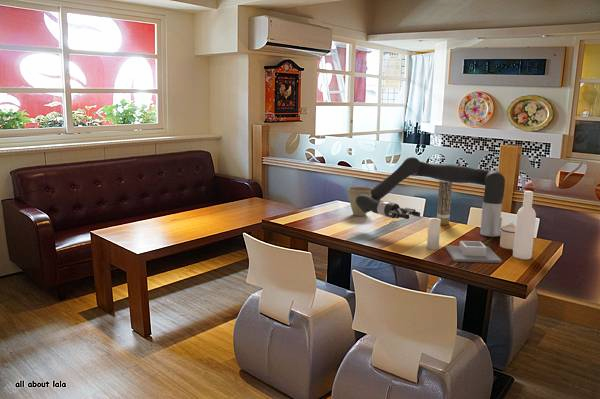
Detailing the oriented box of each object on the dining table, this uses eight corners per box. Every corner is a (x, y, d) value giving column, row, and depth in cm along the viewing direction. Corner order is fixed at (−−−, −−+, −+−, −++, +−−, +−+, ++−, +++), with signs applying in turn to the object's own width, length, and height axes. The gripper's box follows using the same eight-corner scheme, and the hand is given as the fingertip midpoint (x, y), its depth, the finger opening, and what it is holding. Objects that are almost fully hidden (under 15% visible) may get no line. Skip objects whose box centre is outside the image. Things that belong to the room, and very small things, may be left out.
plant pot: (373, 217, 293) (374, 191, 290) (348, 217, 293) (349, 191, 290) (370, 212, 308) (371, 186, 304) (346, 211, 308) (347, 186, 304)
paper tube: (449, 225, 277) (452, 181, 272) (436, 224, 279) (439, 180, 274) (448, 222, 284) (451, 179, 279) (436, 221, 285) (439, 178, 280)
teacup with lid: (516, 251, 233) (519, 226, 231) (496, 247, 238) (499, 223, 236) (523, 245, 243) (525, 221, 240) (503, 241, 248) (505, 218, 245)
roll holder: (488, 249, 236) (489, 238, 234) (501, 263, 216) (502, 251, 215) (445, 247, 237) (445, 237, 236) (454, 261, 218) (455, 250, 216)
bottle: (526, 253, 229) (533, 189, 223) (534, 259, 221) (542, 193, 215) (509, 253, 229) (515, 189, 222) (517, 259, 221) (524, 193, 215)
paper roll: (437, 246, 239) (439, 217, 236) (439, 249, 234) (441, 220, 231) (425, 246, 239) (427, 217, 236) (427, 249, 234) (429, 220, 231)
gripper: (379, 204, 249) (405, 210, 237) (397, 200, 258) (423, 206, 246) (378, 218, 250) (404, 225, 238) (396, 214, 259) (422, 221, 247)
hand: (414, 215), depth 242 cm, fingers open, 8 cm apart
